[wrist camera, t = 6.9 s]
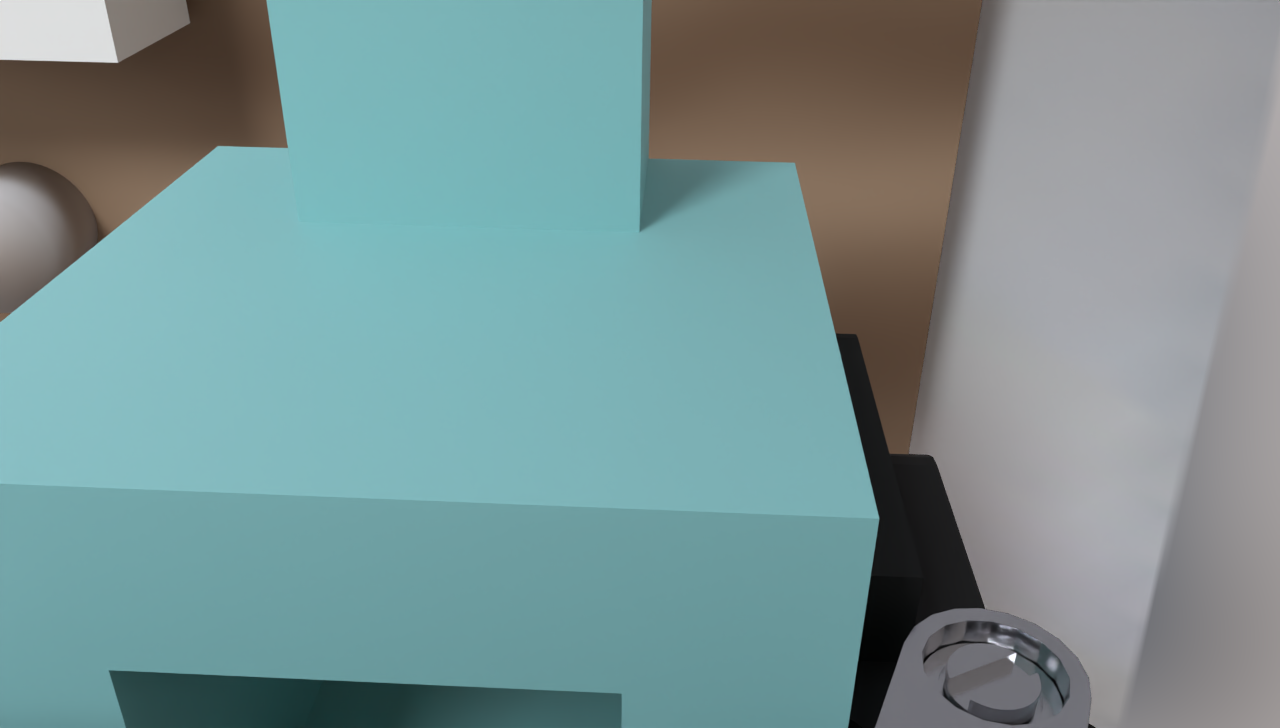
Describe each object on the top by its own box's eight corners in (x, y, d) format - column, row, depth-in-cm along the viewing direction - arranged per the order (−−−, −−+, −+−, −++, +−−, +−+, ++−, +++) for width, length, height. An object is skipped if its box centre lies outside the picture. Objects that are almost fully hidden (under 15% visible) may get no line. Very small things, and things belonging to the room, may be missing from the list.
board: (-526, -617, 17) (-1254, -831, 10) (1059, -608, 16) (1294, -835, 10) (-132, 391, 26) (-400, 599, 19) (898, 429, 25) (966, 659, 19)
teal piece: (756, 610, 14) (790, 1111, 9) (296, 590, 14) (65, 1071, 9) (822, -161, 10) (967, -66, 5) (159, -175, 10) (-438, -97, 5)
